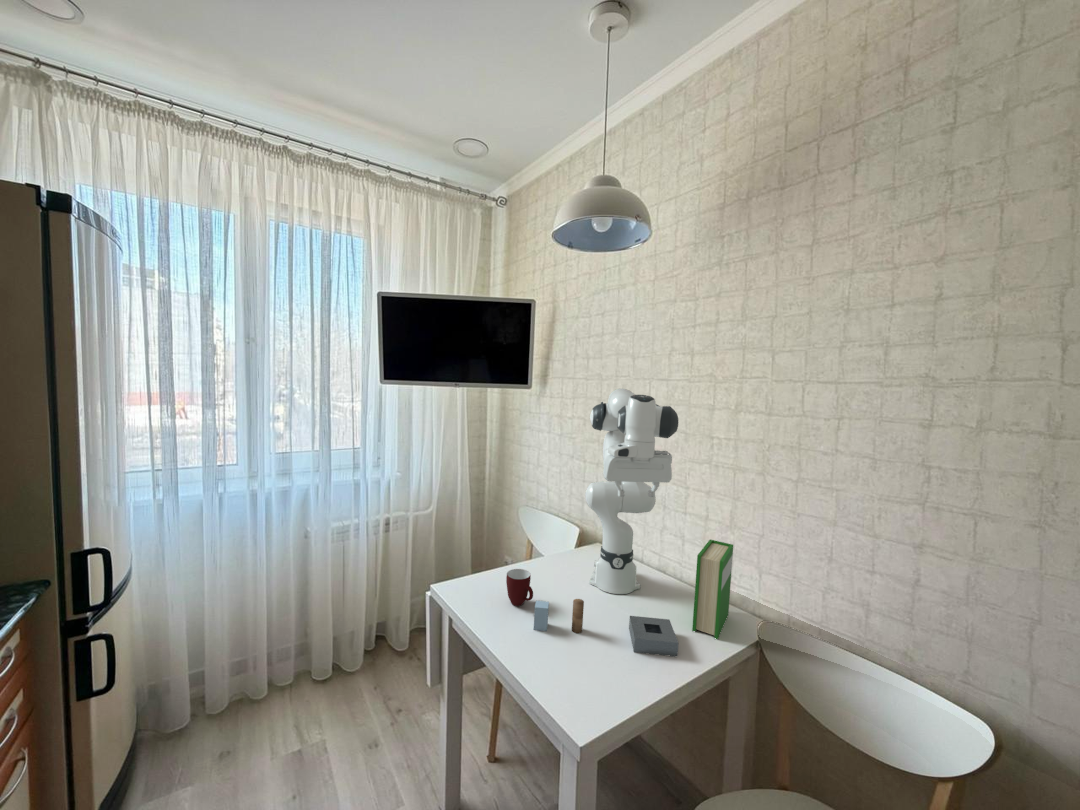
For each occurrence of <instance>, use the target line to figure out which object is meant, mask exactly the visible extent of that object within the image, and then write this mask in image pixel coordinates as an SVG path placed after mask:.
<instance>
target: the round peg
mask: <svg viewBox="0 0 1080 810" xmlns="http://www.w3.org/2000/svg"><path fill="white" fill-rule="evenodd" d="M572 603H573V604H572V618H571V620H572V622H571V632H573V634H582V632H583V624H584V609H585V608H584V607H585V601H584V599H582V598H575V599H573V601H572Z"/></svg>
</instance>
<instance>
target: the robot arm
mask: <svg viewBox="0 0 1080 810" xmlns="http://www.w3.org/2000/svg"><path fill="white" fill-rule="evenodd" d="M607 399H608V400H607V403H606V402H603V401H601V402H600V403H599V404H596V405H595V406H593V407H592V410H591V412H590V414H589V420H590V424H591V427H592V428H593V429H594V430H596V431H600V432H601V431H606V432H607V433H605V435H604V437H603V438H604V439H603V443H602V461H603V462H602V463H603V471H602V472H603V473H602V476H603V478H604V480H606V481H603V480H602V481H596V482H591V483H589V485H588V486H587V487H586V490H585V494H584V497H585V498H584V499H585V502H586V504H587V506H588V507H589V508H590V510H592V511H593V512H594V513H595V514H596V516H597V517H598V518H599V520H600V523H601V528H602V529H601V530H602V542H601V544H602V545H601V546H600V551H599V552H600V553H599V554H600V557H599V558H598V560H594V565H593V566H594V569H593V572H592V574H591V576H590V580H589V583H588V584H590V585H592V586H595V587H596V588H598V589H599V590H601V591H603V592H606V593H610V594H614V595H626V594H627V595H628V594H630V593H633V592H634V591H636V590H640V589H641V584H640V582H639V581H638V580H637V565H636V564H635V562H634V561H633V560H634V549H633V543H634V542H633V541H634V540H633V539H634V530H633V528H632V526H631V524H629V523H628V522H626V521H625V520H623V519H621V518H619V517H618V514H620V513H624V514H628V513H629V514H645V513H650V512H651V511H652V510H653V509H654V507H655V505H656V501H657V500H656V499H657V498H656V497H657V496H656V492H657V490H658V488H659V487H660V483H670V482H671V481H672V479H673V478H672V477H673V475H672V473H673V472H672V463H673V455H672V454H671V453H670V452H669V451H667V450H655V449H656V448H655V445H656V438H662V439H669V438H671V437H672V436H673V435H674V434H676V432H678V427H679V417H678V413H677V411H675V409H674V408H673V407H671V406H669V405H668V406H667V405H666V406H665V405H664V406H661V405H659V404H657V403H656V398H654V397H653V396H650V395H646V394H635V393H634V392H632V391H631V390H629V389H626V388H617V389H614V390H613V391H611V393H610V394H609V396H608V398H607ZM655 437H656V438H655ZM647 483H651V484H652V487H651V486H650V485H648V484H647Z"/></svg>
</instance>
